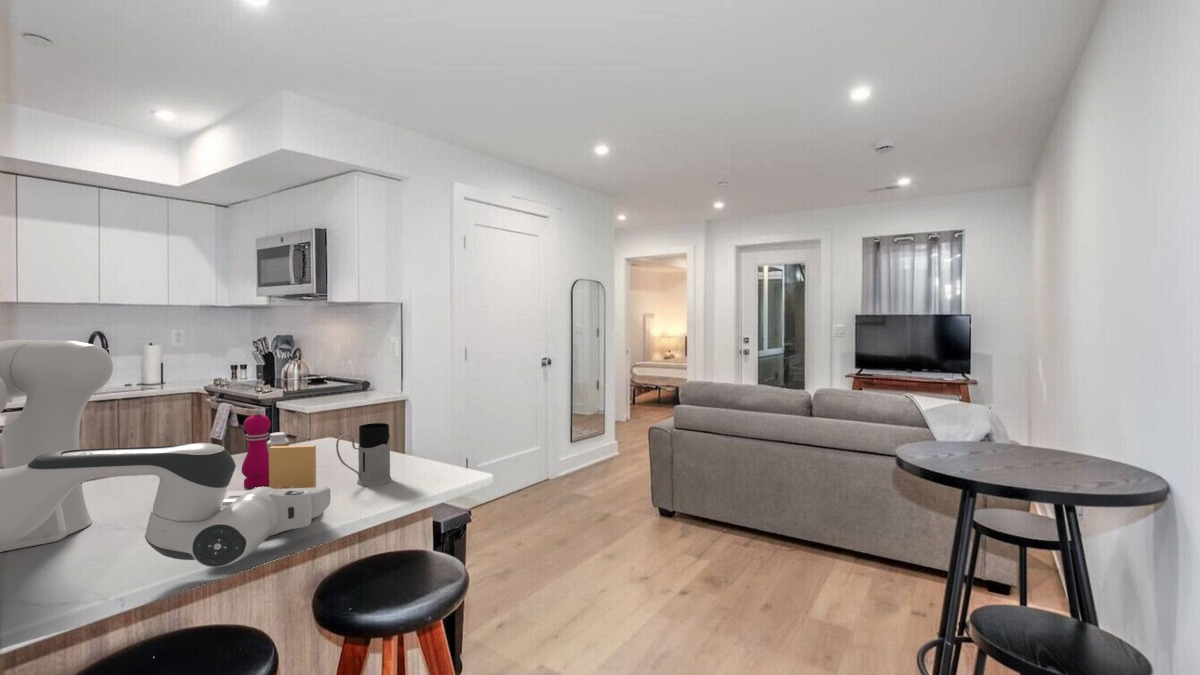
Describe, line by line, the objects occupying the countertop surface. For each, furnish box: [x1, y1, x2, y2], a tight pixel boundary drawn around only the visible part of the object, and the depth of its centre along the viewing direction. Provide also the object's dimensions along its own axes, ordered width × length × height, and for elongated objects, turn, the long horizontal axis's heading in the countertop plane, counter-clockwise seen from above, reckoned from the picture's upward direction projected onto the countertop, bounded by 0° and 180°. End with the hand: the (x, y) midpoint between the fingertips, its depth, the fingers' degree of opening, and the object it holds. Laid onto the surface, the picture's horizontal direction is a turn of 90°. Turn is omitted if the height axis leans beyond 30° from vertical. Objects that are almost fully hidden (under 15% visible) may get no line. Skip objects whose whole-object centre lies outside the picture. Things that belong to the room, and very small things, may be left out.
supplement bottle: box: [267, 431, 290, 452], centre depth 161 cm, size 6×6×10 cm
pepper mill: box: [241, 408, 272, 489], centre depth 146 cm, size 7×7×20 cm
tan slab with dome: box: [268, 444, 317, 489], centre depth 122 cm, size 14×7×14 cm, turn 100°
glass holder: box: [335, 422, 393, 487], centre depth 148 cm, size 9×14×15 cm, turn 136°
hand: (287, 489), depth 118 cm, fingers closed
